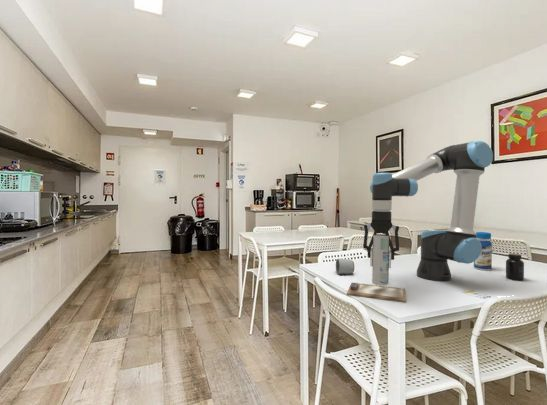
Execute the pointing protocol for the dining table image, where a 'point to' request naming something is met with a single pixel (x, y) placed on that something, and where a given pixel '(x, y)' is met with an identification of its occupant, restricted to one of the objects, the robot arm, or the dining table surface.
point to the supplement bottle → (515, 267)
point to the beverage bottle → (484, 252)
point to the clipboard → (377, 292)
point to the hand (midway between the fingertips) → (380, 266)
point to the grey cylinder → (344, 266)
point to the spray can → (380, 259)
